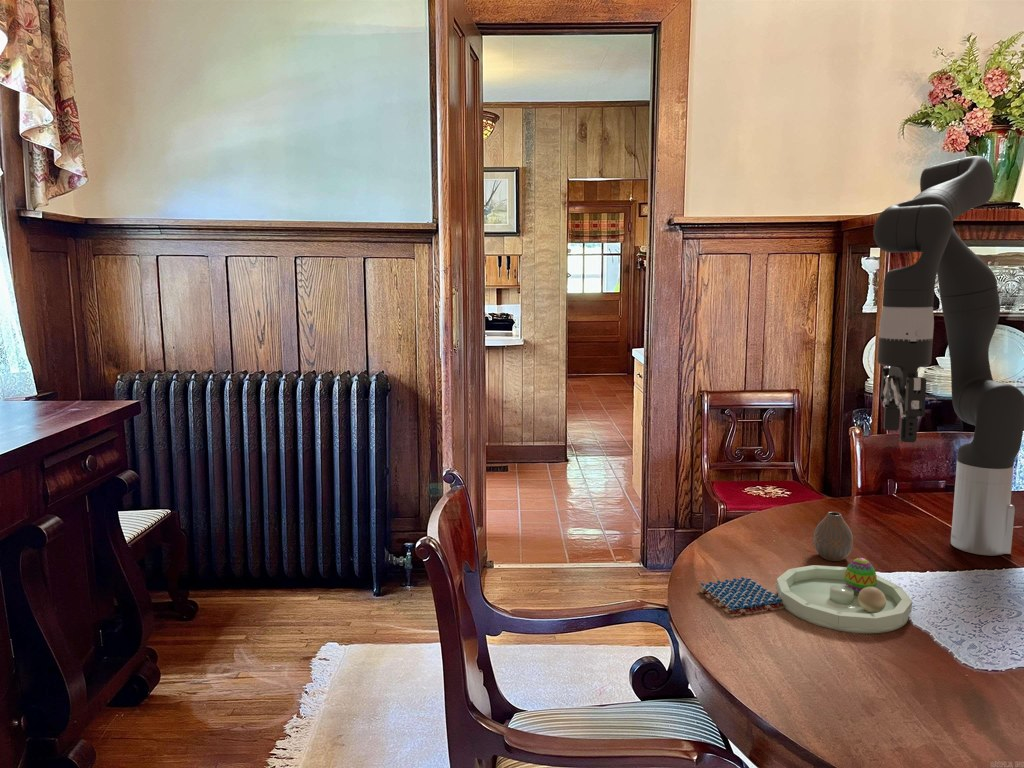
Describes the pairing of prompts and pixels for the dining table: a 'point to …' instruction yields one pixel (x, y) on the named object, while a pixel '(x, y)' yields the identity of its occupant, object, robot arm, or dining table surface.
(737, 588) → the woven mat
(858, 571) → the egg
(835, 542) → the vase
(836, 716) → the dining table surface
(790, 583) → the groove dish
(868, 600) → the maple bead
